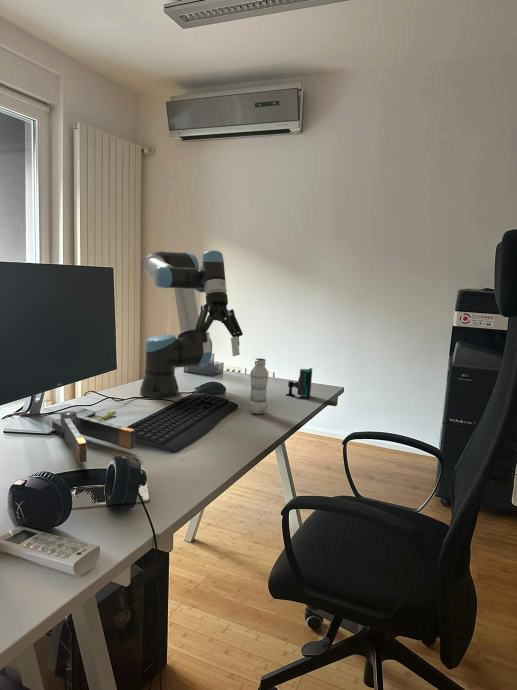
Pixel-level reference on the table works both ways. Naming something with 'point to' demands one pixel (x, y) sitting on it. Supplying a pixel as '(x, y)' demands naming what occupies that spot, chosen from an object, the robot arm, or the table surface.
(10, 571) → the table surface
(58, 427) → the tongs pivot
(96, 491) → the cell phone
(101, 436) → the tongs jaw
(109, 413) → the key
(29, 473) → the table surface
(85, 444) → the tongs jaw
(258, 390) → the plastic bottle
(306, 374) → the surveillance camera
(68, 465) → the table surface
